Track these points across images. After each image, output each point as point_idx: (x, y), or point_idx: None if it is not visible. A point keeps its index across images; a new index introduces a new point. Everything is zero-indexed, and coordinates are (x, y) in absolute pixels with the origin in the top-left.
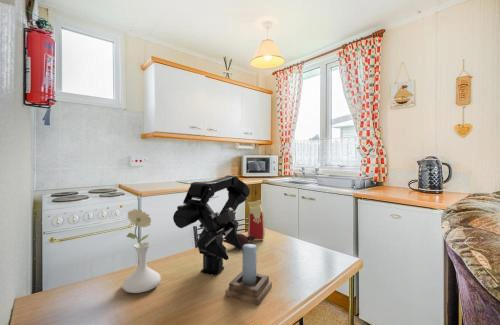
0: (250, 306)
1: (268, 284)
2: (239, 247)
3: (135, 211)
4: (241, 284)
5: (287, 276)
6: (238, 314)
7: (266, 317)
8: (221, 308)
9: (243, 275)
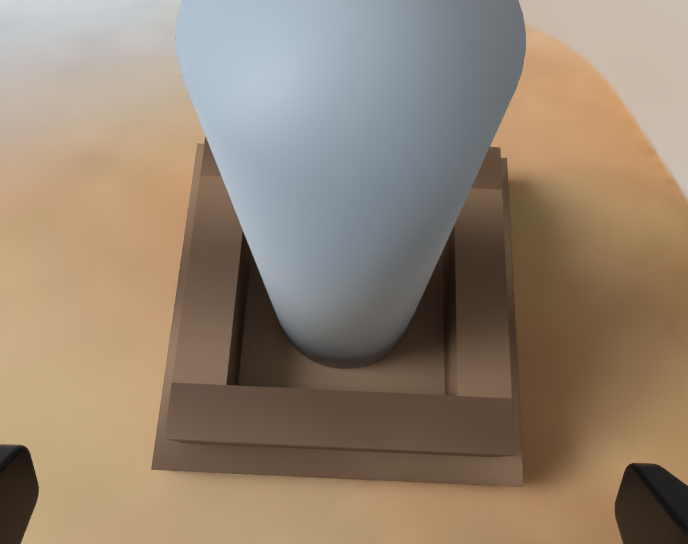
0: (539, 225)
1: None
2: (11, 503)
3: None
4: (473, 317)
5: (2, 91)
6: (665, 268)
7: (588, 96)
8: (681, 422)
9: (416, 306)
